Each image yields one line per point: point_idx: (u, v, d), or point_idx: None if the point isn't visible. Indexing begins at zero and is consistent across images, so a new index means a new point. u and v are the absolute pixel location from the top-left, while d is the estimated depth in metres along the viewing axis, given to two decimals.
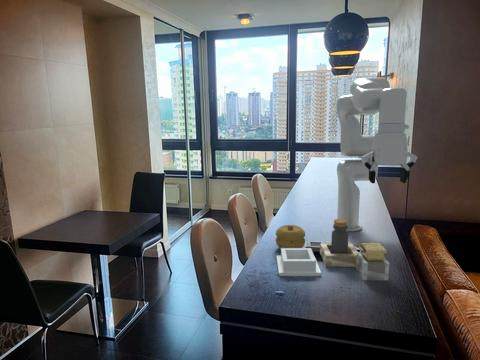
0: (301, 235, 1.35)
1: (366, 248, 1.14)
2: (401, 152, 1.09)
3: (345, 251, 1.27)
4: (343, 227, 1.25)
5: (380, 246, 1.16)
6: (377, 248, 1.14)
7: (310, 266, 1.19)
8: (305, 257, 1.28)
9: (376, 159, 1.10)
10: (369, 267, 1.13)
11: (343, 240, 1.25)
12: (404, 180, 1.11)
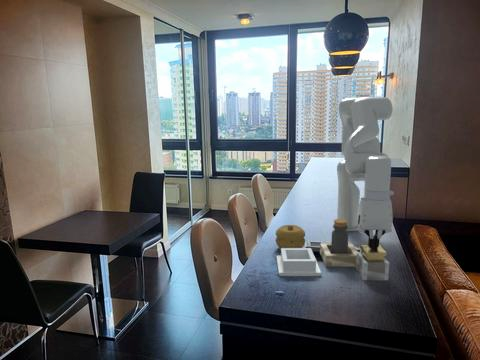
0: (301, 235, 1.35)
1: (366, 250, 1.15)
2: (386, 218, 1.11)
3: (345, 251, 1.27)
4: (343, 227, 1.25)
5: (380, 248, 1.16)
6: (377, 250, 1.14)
7: (310, 266, 1.19)
8: (305, 257, 1.28)
9: (362, 224, 1.12)
10: (369, 267, 1.13)
11: (343, 240, 1.25)
12: (376, 248, 1.14)
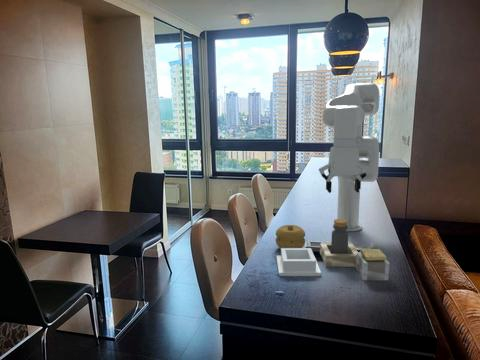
0: (301, 235, 1.35)
1: (366, 254, 1.15)
2: (354, 164, 1.20)
3: (345, 251, 1.27)
4: (343, 227, 1.25)
5: (380, 252, 1.16)
6: (377, 254, 1.15)
7: (310, 266, 1.19)
8: (305, 257, 1.28)
9: (331, 171, 1.21)
10: (369, 267, 1.13)
11: (343, 240, 1.25)
12: (357, 190, 1.22)
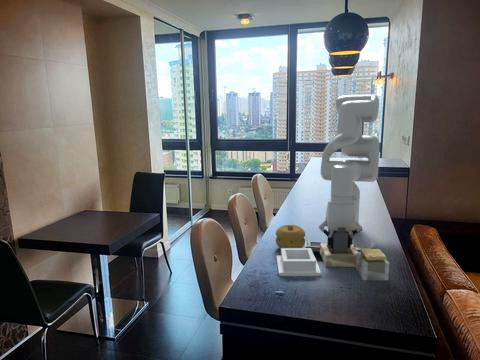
0: (301, 235, 1.35)
1: (366, 254, 1.15)
2: (350, 220, 1.24)
3: (345, 251, 1.27)
4: (343, 227, 1.25)
5: (380, 252, 1.16)
6: (377, 254, 1.15)
7: (310, 266, 1.19)
8: (305, 257, 1.28)
9: (328, 226, 1.25)
10: (369, 267, 1.13)
11: (343, 240, 1.25)
12: (349, 246, 1.27)
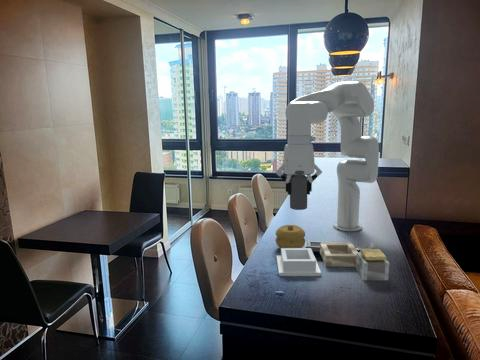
0: (301, 235, 1.35)
1: (366, 254, 1.15)
2: (308, 163, 1.15)
3: (304, 197, 1.17)
4: None
5: (380, 252, 1.16)
6: (377, 254, 1.15)
7: (310, 266, 1.19)
8: (305, 257, 1.28)
9: (285, 169, 1.16)
10: (369, 267, 1.13)
11: (301, 184, 1.16)
12: (308, 192, 1.18)
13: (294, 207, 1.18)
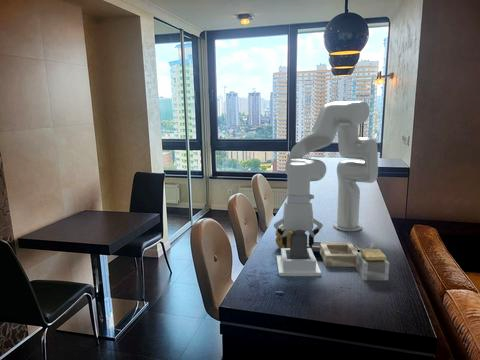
0: None
1: (366, 254, 1.15)
2: (307, 220, 1.19)
3: (303, 255, 1.21)
4: (301, 230, 1.20)
5: (380, 252, 1.16)
6: (377, 254, 1.15)
7: (310, 266, 1.19)
8: None
9: (285, 226, 1.20)
10: (369, 267, 1.13)
11: (301, 243, 1.20)
12: (310, 245, 1.21)
13: None
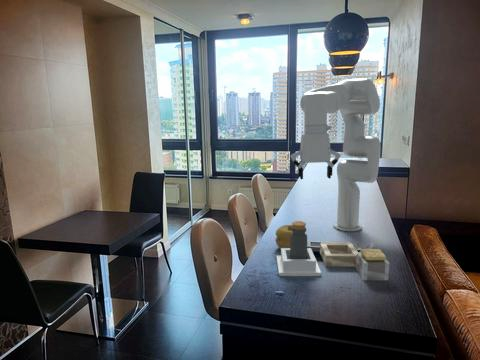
0: None
1: (366, 254, 1.15)
2: (324, 151, 1.20)
3: (303, 255, 1.21)
4: (301, 230, 1.20)
5: (380, 252, 1.16)
6: (377, 254, 1.15)
7: (310, 266, 1.19)
8: None
9: (302, 157, 1.21)
10: (369, 267, 1.13)
11: (301, 243, 1.20)
12: (329, 176, 1.23)
13: None
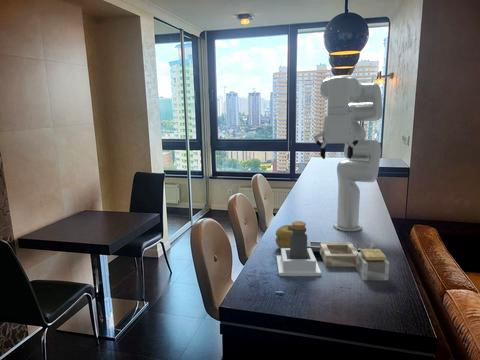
0: None
1: (366, 254, 1.15)
2: (346, 131, 1.28)
3: (303, 255, 1.21)
4: (301, 230, 1.20)
5: (380, 252, 1.16)
6: (377, 254, 1.15)
7: (310, 266, 1.19)
8: None
9: (325, 138, 1.29)
10: (369, 267, 1.13)
11: (301, 243, 1.20)
12: (350, 156, 1.30)
13: None
